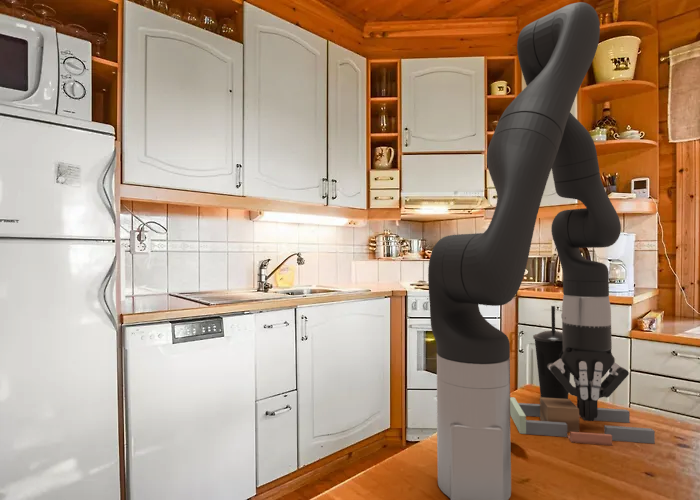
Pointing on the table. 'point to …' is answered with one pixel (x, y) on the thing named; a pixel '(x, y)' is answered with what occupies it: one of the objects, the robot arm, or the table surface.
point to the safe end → (518, 415)
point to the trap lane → (590, 438)
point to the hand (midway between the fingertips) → (587, 419)
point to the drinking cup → (550, 361)
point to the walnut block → (560, 412)
